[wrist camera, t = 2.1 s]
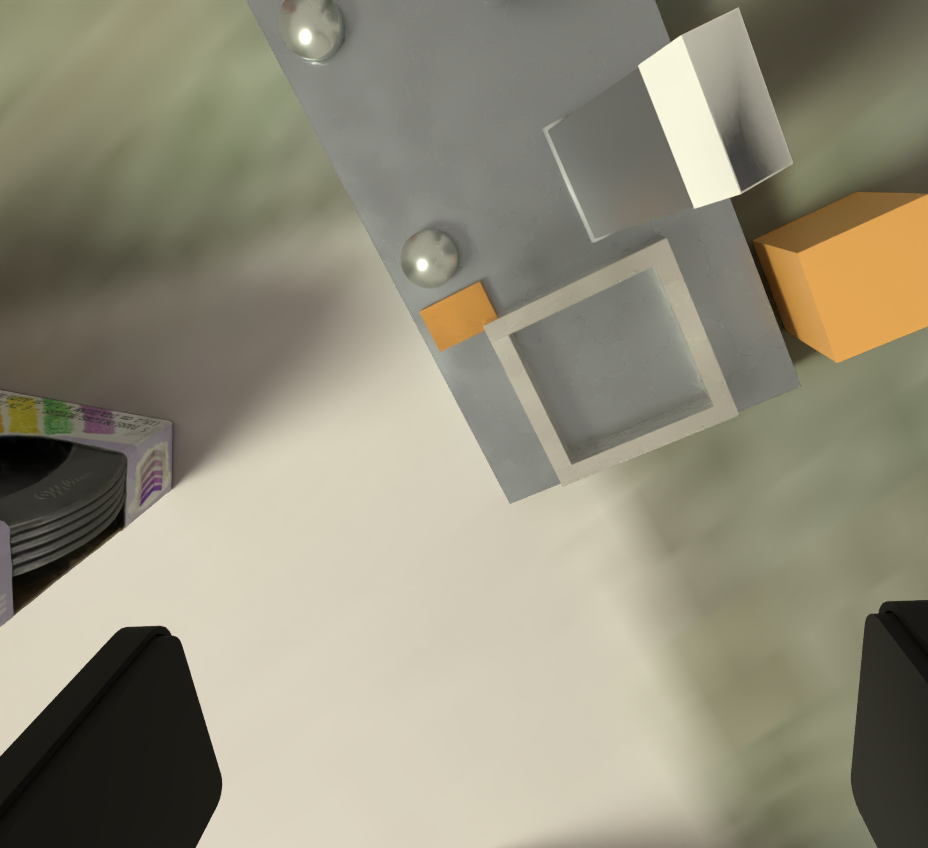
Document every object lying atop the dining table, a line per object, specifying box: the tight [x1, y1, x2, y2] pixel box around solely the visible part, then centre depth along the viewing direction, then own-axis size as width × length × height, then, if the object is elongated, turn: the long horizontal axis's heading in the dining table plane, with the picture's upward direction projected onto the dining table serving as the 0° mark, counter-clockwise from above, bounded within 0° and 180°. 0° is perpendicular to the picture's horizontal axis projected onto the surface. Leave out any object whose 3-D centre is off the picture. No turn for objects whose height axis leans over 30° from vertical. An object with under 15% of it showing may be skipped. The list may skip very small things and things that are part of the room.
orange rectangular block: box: [752, 192, 928, 363], centre depth 27 cm, size 4×4×6 cm
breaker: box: [542, 7, 793, 243], centre depth 23 cm, size 2×5×9 cm, turn 27°
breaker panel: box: [246, 0, 801, 504], centre depth 28 cm, size 14×28×4 cm, turn 27°
